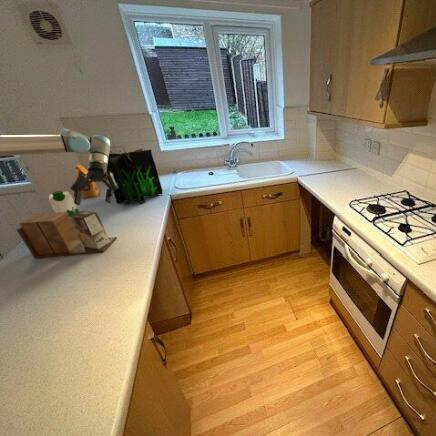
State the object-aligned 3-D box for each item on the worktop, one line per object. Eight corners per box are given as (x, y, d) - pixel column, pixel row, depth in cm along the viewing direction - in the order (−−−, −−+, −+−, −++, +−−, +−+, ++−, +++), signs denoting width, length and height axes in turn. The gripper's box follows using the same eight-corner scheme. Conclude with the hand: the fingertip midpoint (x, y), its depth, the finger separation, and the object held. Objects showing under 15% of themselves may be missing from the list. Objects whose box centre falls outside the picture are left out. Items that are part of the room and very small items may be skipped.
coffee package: (81, 199, 165) (66, 168, 155) (83, 193, 175) (70, 164, 164) (98, 196, 170) (85, 165, 159) (100, 191, 179) (88, 162, 169)
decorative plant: (105, 202, 160) (87, 157, 146) (143, 187, 185) (130, 147, 171) (138, 207, 152) (122, 160, 138) (172, 191, 177) (162, 149, 163)
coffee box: (111, 241, 115) (97, 212, 107) (98, 249, 109) (84, 218, 102) (95, 239, 117) (82, 210, 109) (82, 247, 111) (67, 216, 104)
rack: (34, 258, 105) (13, 225, 97) (54, 243, 116) (36, 212, 108) (103, 252, 109) (88, 219, 101) (116, 238, 119) (103, 207, 111)
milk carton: (63, 230, 127) (45, 195, 118) (63, 224, 133) (46, 190, 124) (84, 225, 132) (68, 191, 123) (83, 219, 138) (68, 186, 129)
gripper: (128, 166, 127) (124, 204, 120) (76, 169, 123) (70, 207, 117) (120, 159, 119) (115, 198, 113) (65, 161, 116) (57, 202, 110)
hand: (92, 203), depth 115 cm, fingers open, 13 cm apart
